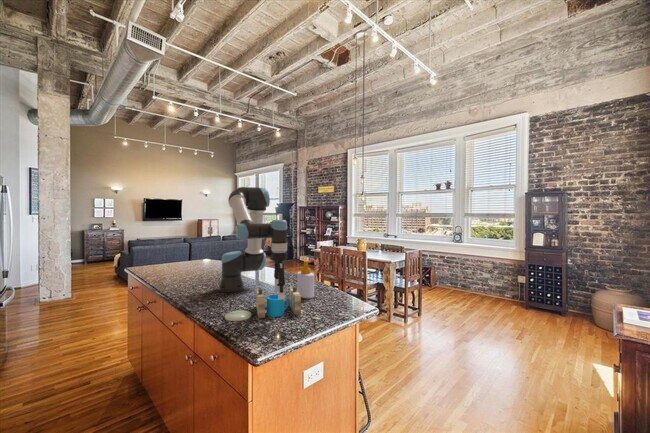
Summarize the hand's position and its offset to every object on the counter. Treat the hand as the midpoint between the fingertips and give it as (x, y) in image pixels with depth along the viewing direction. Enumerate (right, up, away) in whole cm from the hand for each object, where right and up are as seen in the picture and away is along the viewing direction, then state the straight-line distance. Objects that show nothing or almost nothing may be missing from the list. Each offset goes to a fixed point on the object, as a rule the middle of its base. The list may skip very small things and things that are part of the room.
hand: (279, 295), depth 142 cm
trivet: (-18, -9, -5) cm, 21 cm away
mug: (0, -9, 0) cm, 9 cm away
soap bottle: (+11, -8, +30) cm, 33 cm away
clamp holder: (-1, -9, +4) cm, 10 cm away
